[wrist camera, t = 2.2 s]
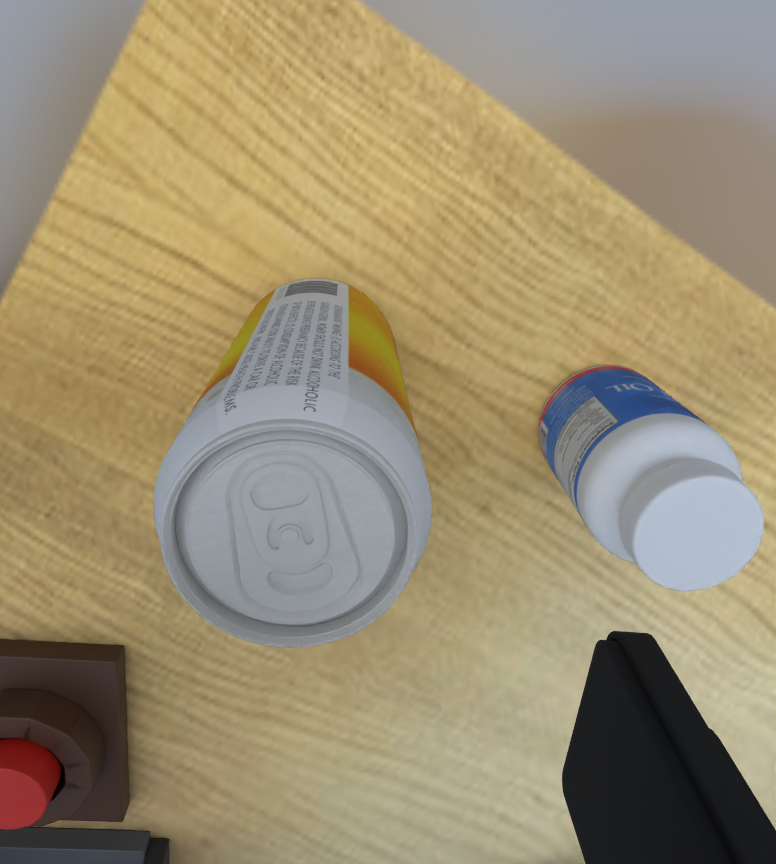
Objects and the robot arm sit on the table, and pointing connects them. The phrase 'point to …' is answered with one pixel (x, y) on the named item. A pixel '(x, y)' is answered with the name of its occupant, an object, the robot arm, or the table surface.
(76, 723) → the button block
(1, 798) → the button
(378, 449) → the beer can
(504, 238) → the table surface
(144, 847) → the dark grey cradle
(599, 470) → the pill bottle
